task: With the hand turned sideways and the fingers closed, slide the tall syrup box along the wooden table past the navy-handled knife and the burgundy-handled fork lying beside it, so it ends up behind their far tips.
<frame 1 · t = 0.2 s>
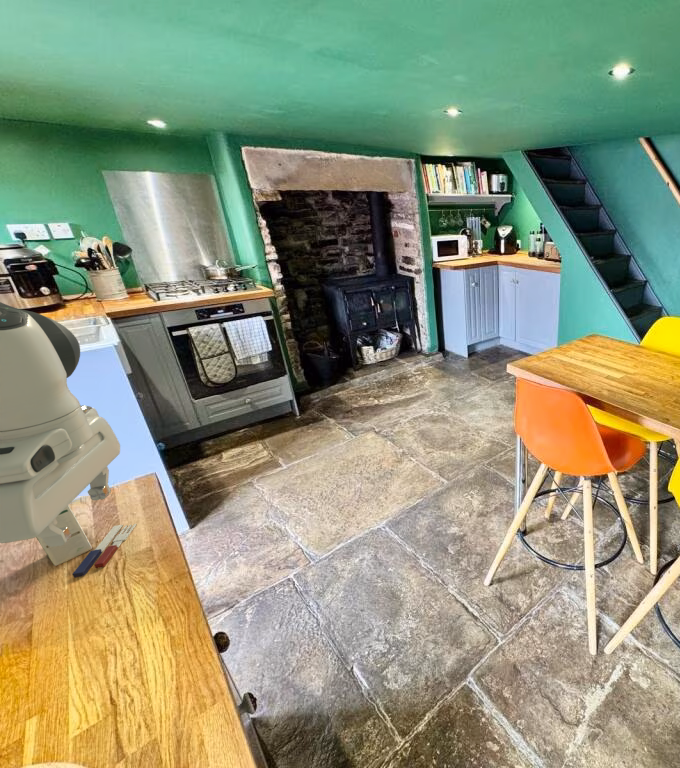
hand: (83, 518, 57), 25 cm above the countertop, tool pointing down, fingers open, 8 cm apart
syrup box: (70, 552, 83), on the countertop
fork: (115, 547, 84), on the countertop
knife: (100, 549, 83), on the countertop
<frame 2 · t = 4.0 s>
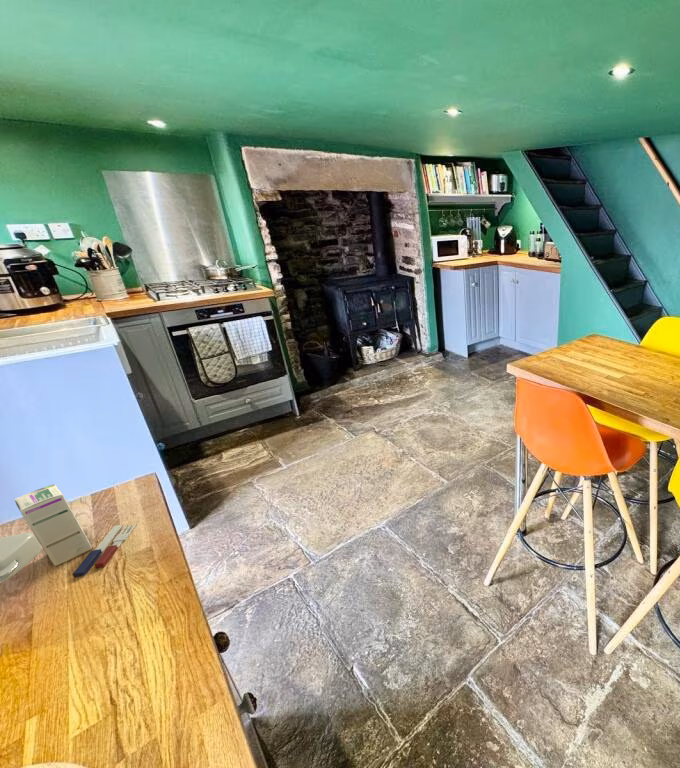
nothing on the countertop moved.
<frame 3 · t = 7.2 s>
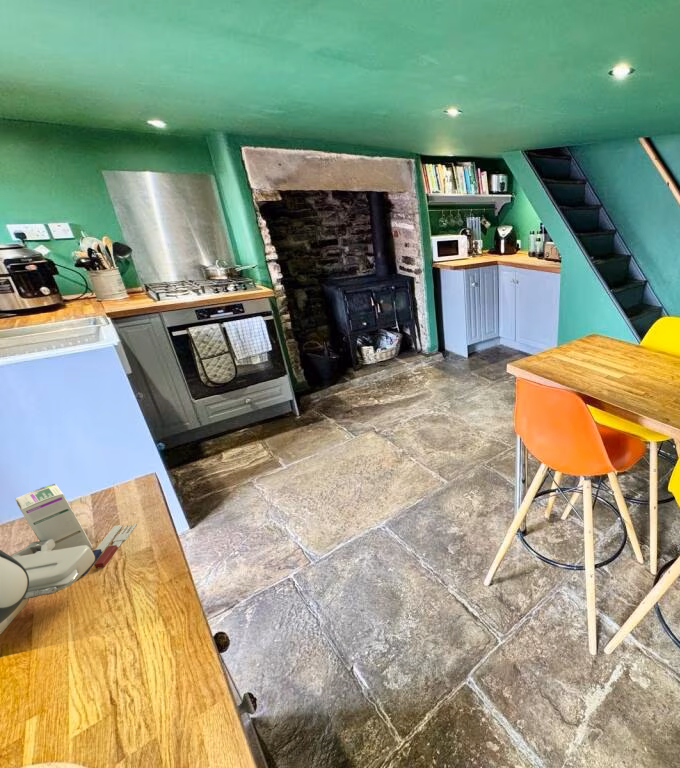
hand: (44, 543, 77), 6 cm above the countertop, tool horizontal, fingers closed
syrup box: (70, 551, 83), on the countertop, touching gripper
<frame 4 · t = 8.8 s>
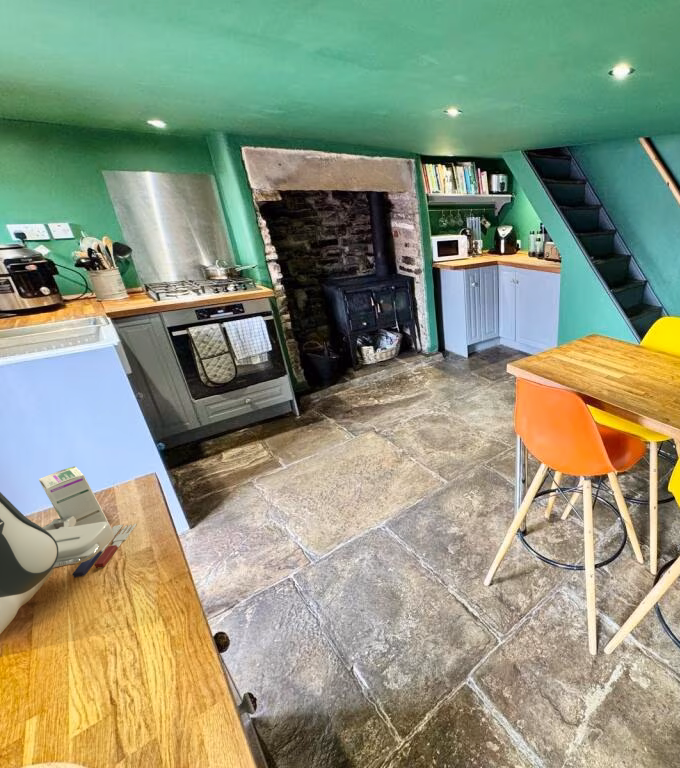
hand: (66, 520, 82), 6 cm above the countertop, tool horizontal, fingers closed
syrup box: (89, 530, 88), on the countertop, touching gripper
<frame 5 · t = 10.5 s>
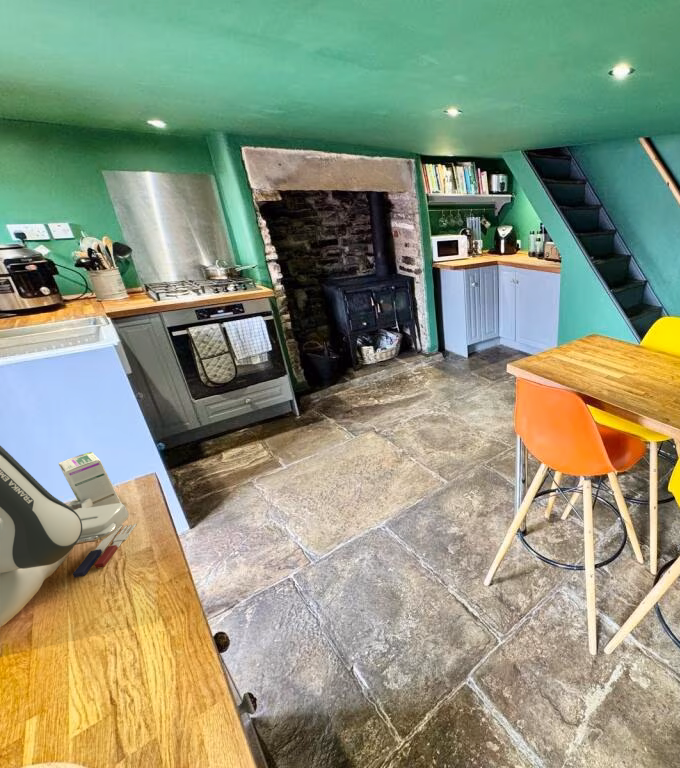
hand: (83, 502, 87), 6 cm above the countertop, tool horizontal, fingers closed
syrup box: (104, 513, 93), on the countertop, touching gripper
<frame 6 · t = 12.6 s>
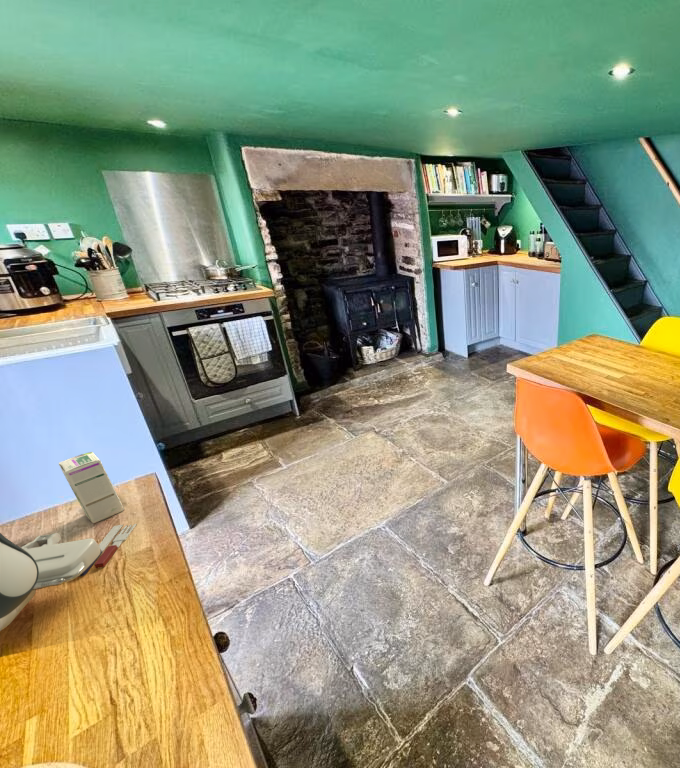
hand: (50, 536, 78), 6 cm above the countertop, tool horizontal, fingers closed
syrup box: (105, 513, 93), on the countertop
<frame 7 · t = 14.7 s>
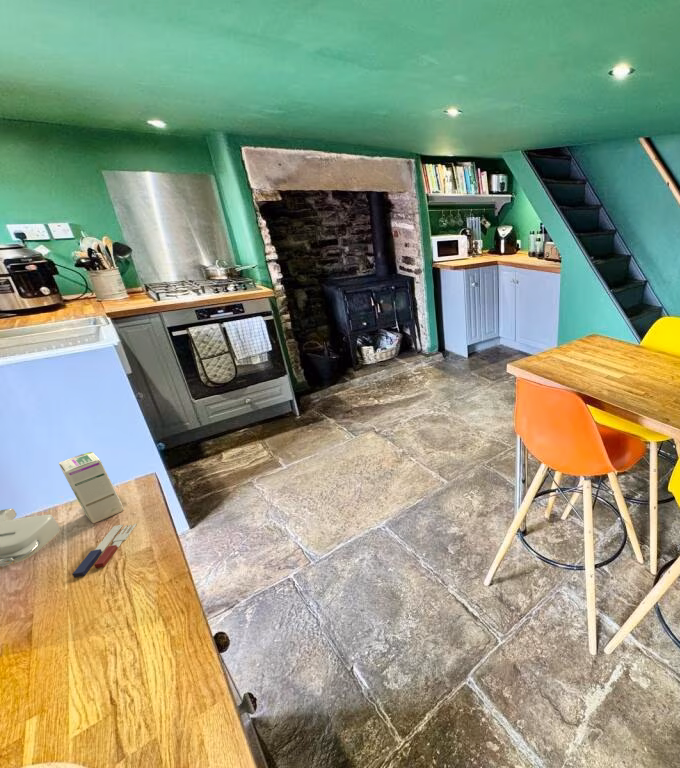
hand: (4, 512, 70), 16 cm above the countertop, tool horizontal, fingers closed
nothing on the countertop moved.
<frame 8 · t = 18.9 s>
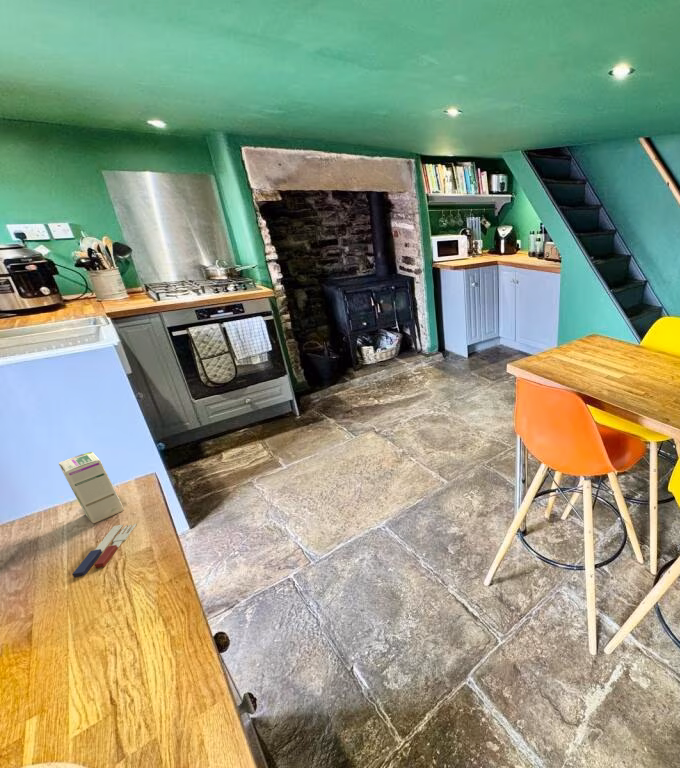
nothing on the countertop moved.
at the end: syrup box inside the target area (0.3 cm from its centre), on the countertop; syrup box tilted 0° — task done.
